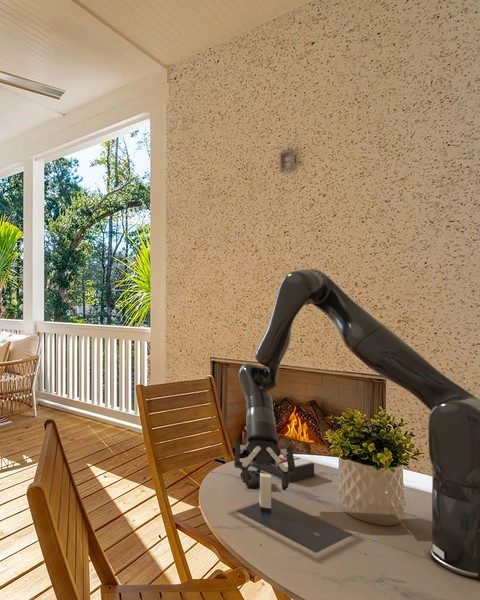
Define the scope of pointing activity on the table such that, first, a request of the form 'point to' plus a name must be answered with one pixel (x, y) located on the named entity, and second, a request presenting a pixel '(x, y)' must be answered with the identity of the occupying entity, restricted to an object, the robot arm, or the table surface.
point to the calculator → (301, 465)
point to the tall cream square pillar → (265, 492)
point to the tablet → (296, 525)
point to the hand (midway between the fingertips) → (265, 486)
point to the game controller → (253, 479)
